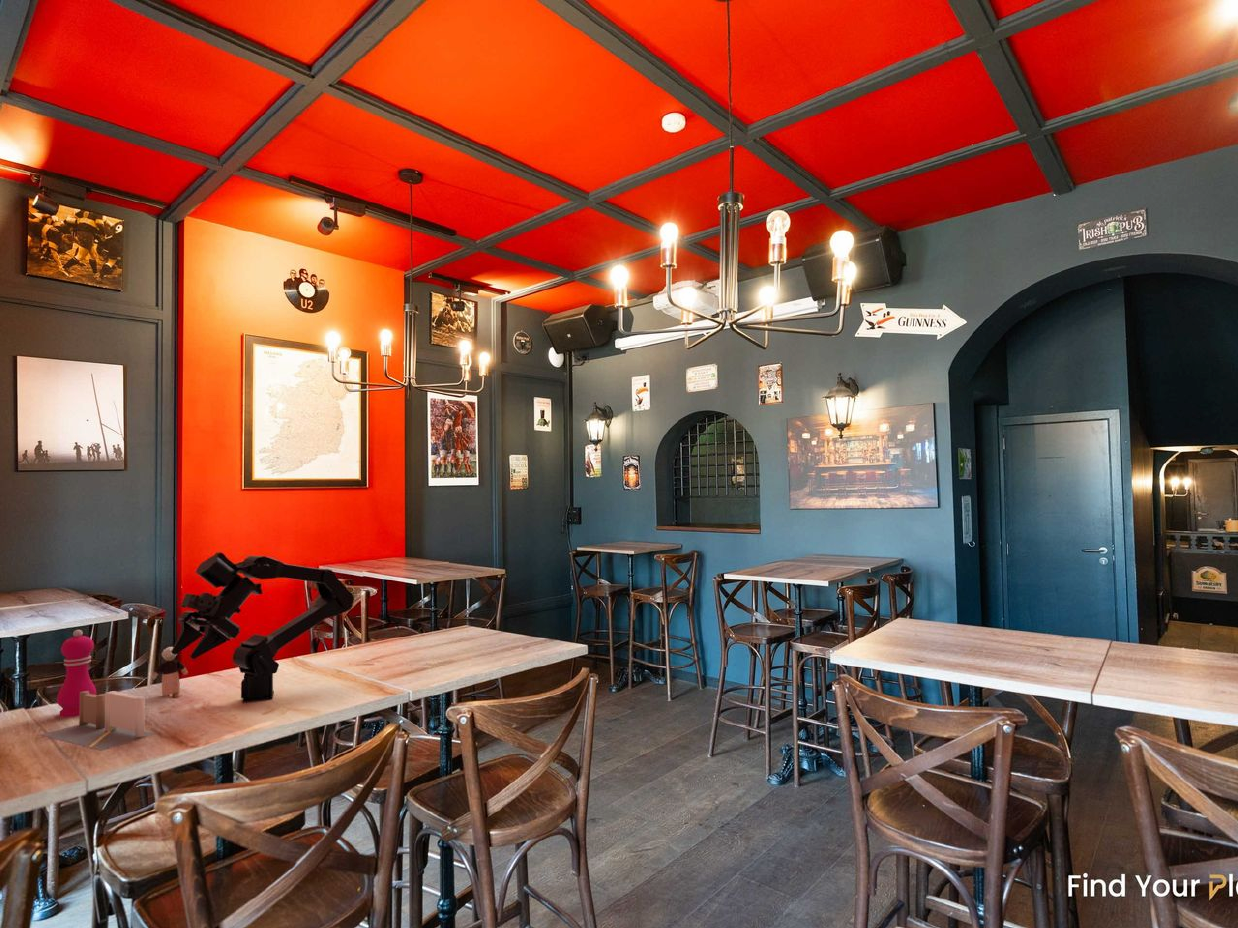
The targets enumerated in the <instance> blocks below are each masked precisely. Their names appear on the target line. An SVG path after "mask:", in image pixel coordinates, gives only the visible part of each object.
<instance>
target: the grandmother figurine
mask: <svg viewBox="0 0 1238 928" xmlns="http://www.w3.org/2000/svg"><path fill="white" fill-rule="evenodd" d="M173 647H174V646H168V647H166V648H165V649H163V651H162V652H161V657H162V658H163V659H164V661H165V662H163V663H160V664H159V665H158V666H157V667H156V668H155V669H154V671H153V674H152V676H151V680H154V681H155V680H156V679H157V677H158V675H160V674H162V675H161V696H162V697H163V698H169V699H171V698H178V697H182V693H181V687H180V685H181V684H180V683H181V682H180V674H179V671H178V670H180V671H181V673H182V674H183V675H184V676H186V675H188V670H187V668H186V666H185V665H184V664H183V663H182V662H181V661H179V660H175V659H176V656H177V655H178V653H177V654H176V655H174V654H172V653H171V651H172V649H173Z"/></svg>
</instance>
